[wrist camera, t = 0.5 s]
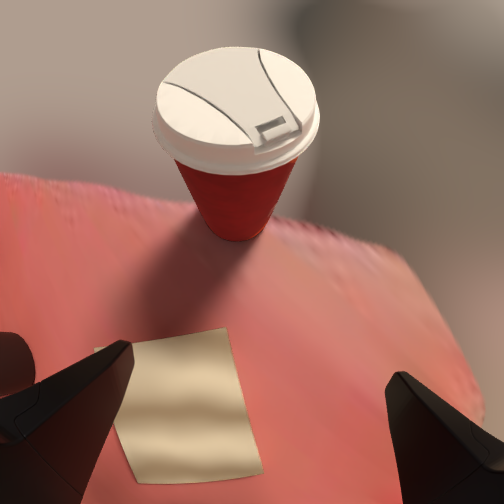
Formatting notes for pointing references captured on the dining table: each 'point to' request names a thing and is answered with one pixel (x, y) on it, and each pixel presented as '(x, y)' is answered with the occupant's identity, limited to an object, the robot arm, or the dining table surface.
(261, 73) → the coffee cup
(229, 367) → the napkin
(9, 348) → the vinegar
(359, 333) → the dining table surface
